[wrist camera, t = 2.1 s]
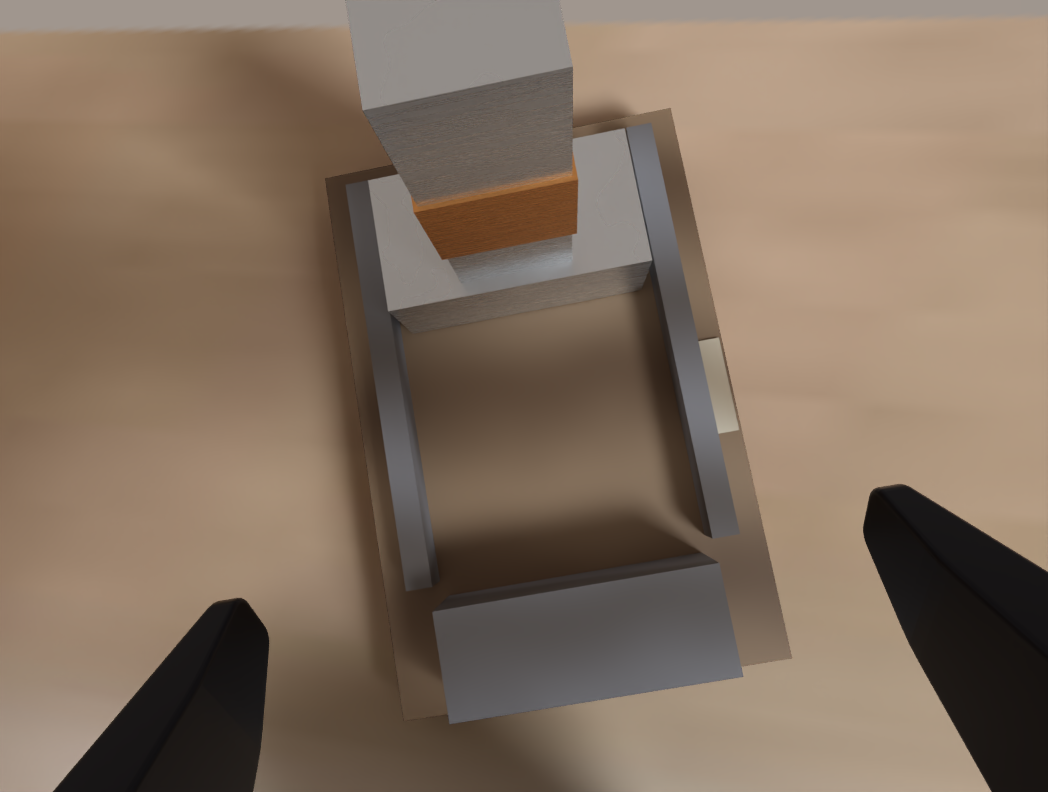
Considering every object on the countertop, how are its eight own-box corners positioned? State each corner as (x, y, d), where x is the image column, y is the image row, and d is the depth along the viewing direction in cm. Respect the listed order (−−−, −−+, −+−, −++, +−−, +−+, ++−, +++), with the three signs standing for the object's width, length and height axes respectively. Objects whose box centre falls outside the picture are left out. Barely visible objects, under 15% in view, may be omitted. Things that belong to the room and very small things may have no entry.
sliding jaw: (641, 290, 22) (726, 60, 10) (413, 333, 22) (224, 164, 10) (617, 175, 22) (671, -178, 10) (394, 219, 22) (195, -70, 11)
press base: (772, 641, 22) (823, 684, 17) (418, 699, 22) (380, 754, 18) (662, 138, 24) (682, 62, 20) (344, 202, 25) (295, 142, 20)
